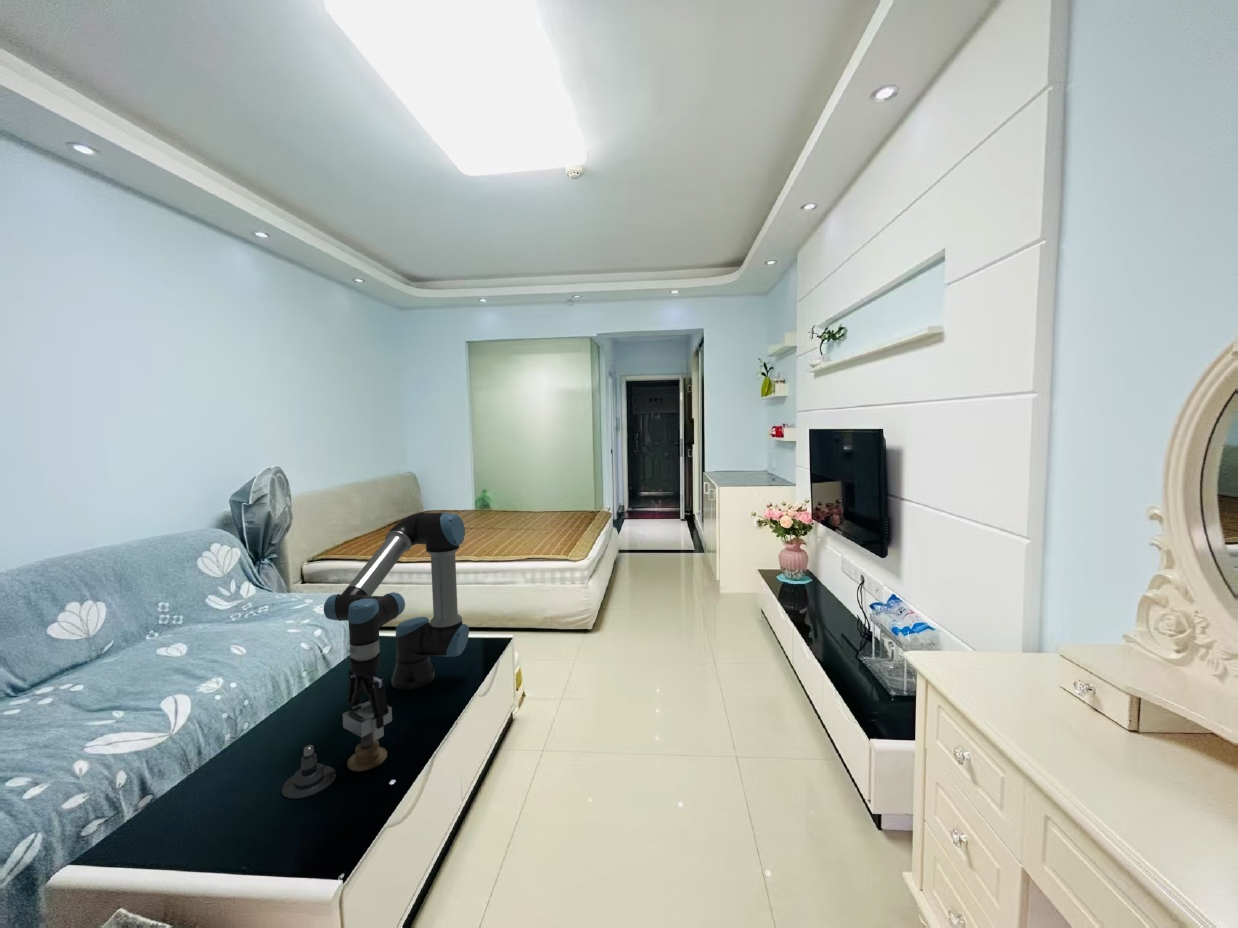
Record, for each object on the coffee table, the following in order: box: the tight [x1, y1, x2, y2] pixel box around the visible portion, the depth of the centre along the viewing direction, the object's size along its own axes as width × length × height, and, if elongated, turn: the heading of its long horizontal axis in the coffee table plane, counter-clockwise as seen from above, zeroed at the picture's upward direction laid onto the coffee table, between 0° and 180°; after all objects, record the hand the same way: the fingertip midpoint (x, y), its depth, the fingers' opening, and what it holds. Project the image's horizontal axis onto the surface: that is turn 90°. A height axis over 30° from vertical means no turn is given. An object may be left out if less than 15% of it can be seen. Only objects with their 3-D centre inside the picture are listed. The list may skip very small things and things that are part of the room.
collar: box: [342, 700, 393, 738], centre depth 138 cm, size 9×9×4 cm
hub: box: [281, 744, 337, 800], centre depth 128 cm, size 12×12×10 cm
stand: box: [346, 732, 388, 772], centre depth 138 cm, size 10×10×9 cm
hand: (368, 732), depth 138 cm, fingers closed on collar, 9 cm apart
